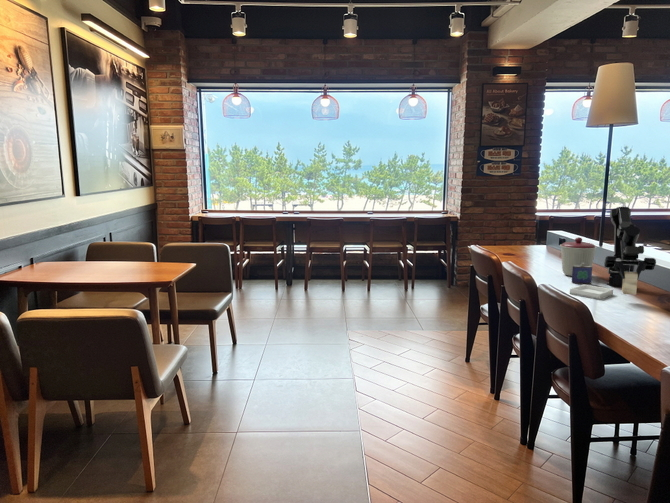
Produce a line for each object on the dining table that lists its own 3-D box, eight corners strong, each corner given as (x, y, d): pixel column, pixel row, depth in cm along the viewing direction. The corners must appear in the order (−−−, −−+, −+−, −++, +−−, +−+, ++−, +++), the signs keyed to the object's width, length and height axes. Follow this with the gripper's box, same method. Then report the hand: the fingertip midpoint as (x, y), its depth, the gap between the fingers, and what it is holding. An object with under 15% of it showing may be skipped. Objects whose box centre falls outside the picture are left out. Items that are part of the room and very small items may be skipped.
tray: (583, 289, 229) (583, 284, 228) (612, 294, 218) (613, 289, 218) (569, 293, 221) (570, 288, 220) (599, 299, 210) (599, 294, 210)
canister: (595, 273, 263) (598, 236, 259) (594, 280, 247) (597, 240, 244) (559, 270, 272) (562, 234, 268) (556, 276, 257) (558, 238, 253)
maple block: (621, 291, 208) (623, 271, 206) (633, 292, 206) (635, 272, 205) (623, 293, 204) (625, 273, 202) (636, 294, 202) (637, 274, 200)
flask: (590, 282, 242) (591, 262, 240) (592, 284, 239) (593, 263, 237) (570, 282, 244) (572, 262, 242) (572, 283, 241) (573, 263, 239)
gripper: (607, 237, 208) (608, 267, 200) (657, 239, 201) (661, 270, 193) (603, 252, 217) (604, 281, 208) (651, 254, 209) (654, 284, 201)
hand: (630, 278), depth 202 cm, fingers closed on maple block, 5 cm apart
